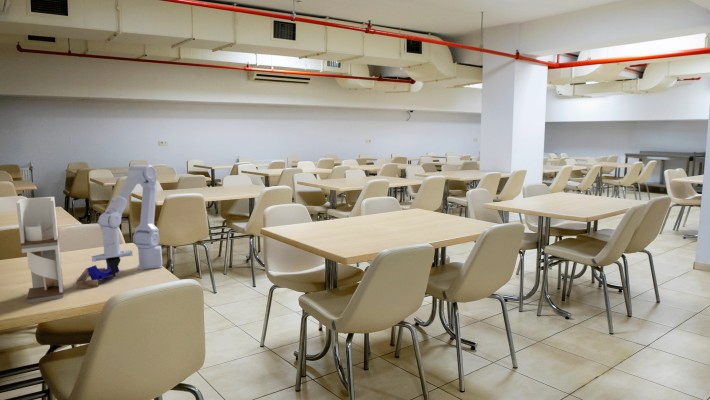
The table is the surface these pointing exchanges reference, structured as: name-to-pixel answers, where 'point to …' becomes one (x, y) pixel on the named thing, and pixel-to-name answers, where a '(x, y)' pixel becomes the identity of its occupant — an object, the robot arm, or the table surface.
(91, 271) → the cable clip
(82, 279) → the frame
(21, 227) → the display case
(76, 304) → the table surface
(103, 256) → the robot arm
